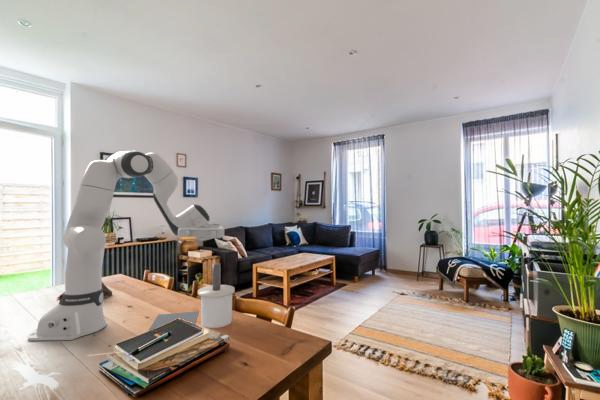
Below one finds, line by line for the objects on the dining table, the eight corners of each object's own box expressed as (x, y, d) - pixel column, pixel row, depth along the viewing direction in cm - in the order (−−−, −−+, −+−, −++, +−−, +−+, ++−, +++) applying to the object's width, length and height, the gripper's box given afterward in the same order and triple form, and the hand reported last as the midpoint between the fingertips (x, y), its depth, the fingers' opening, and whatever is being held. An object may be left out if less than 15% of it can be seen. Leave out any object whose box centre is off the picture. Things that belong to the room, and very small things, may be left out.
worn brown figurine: (90, 306, 141) (82, 271, 138) (83, 304, 144) (75, 270, 140) (114, 294, 151) (107, 261, 148) (108, 293, 154) (101, 260, 151)
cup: (208, 331, 109) (209, 298, 109) (196, 322, 117) (196, 291, 117) (237, 323, 116) (237, 292, 116) (223, 314, 125) (223, 286, 125)
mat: (148, 331, 108) (148, 330, 108) (158, 315, 124) (158, 314, 124) (194, 327, 112) (194, 326, 112) (198, 312, 128) (198, 311, 128)
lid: (195, 298, 109) (195, 268, 109) (199, 288, 122) (199, 261, 122) (234, 296, 112) (234, 267, 112) (234, 286, 125) (234, 260, 125)
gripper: (180, 224, 140) (174, 226, 127) (224, 224, 145) (224, 226, 131) (179, 237, 140) (174, 241, 126) (224, 237, 145) (224, 240, 131)
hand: (200, 233), depth 129 cm, fingers open, 8 cm apart
